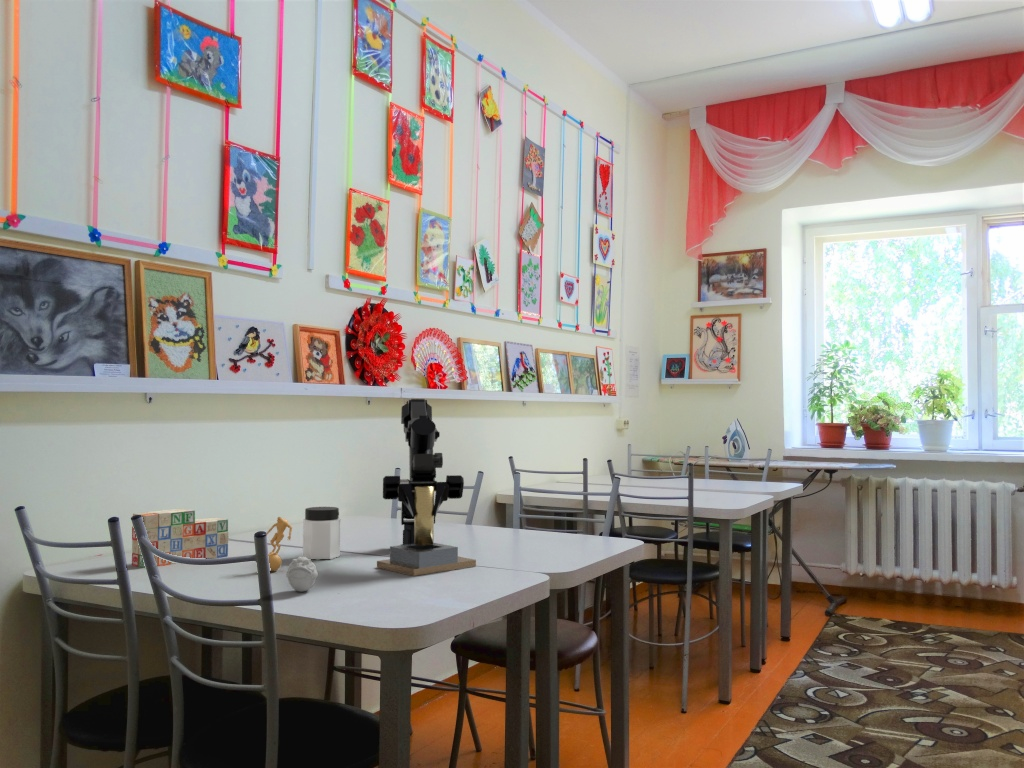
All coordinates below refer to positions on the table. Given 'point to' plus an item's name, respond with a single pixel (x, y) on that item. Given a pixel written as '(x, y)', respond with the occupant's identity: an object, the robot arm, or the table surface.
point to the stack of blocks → (182, 535)
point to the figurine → (277, 542)
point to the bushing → (424, 515)
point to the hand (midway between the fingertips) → (424, 515)
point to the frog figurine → (301, 574)
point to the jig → (424, 559)
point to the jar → (321, 533)
